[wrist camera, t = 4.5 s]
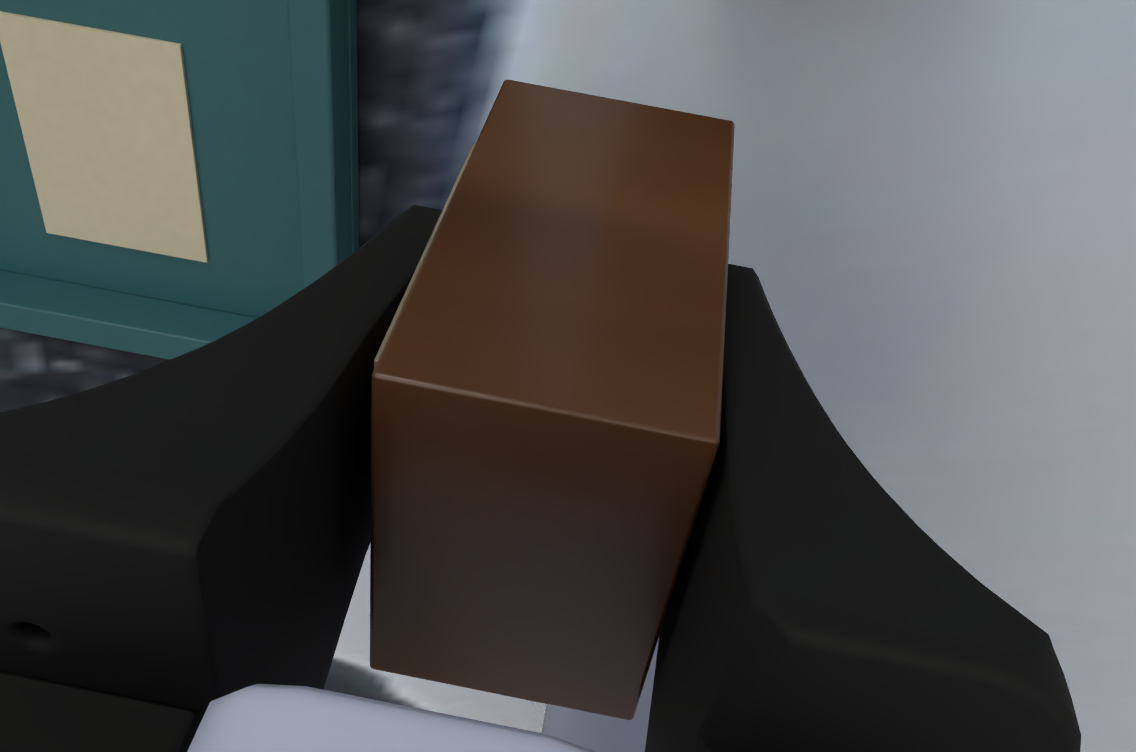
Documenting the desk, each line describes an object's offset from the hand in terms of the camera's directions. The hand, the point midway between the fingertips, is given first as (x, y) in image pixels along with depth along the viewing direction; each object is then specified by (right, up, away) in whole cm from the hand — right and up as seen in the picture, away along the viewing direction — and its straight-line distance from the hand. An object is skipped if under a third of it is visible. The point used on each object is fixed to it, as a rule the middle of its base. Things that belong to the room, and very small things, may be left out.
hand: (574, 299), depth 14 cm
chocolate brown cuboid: (0, +1, +1) cm, 1 cm away
